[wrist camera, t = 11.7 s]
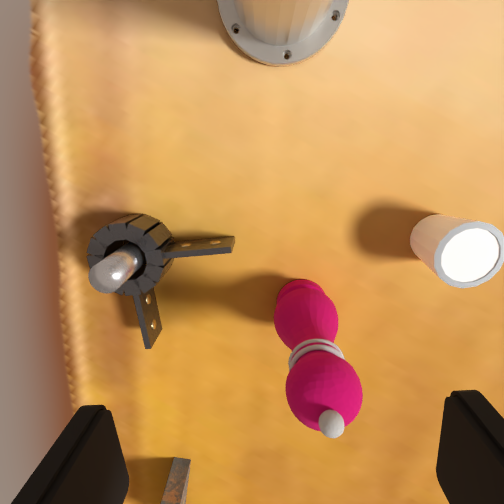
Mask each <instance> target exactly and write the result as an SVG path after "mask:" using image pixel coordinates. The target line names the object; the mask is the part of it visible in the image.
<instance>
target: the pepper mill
mask: <svg viewBox="0 0 504 504" xmlns="http://www.w3.org/2000/svg"><path fill="white" fill-rule="evenodd" d="M274 324H275V328H276V331H277V334H278V335H279V337H280V338H281V340H282V341H283V342H284V344H285V345H286V346H287V347H289V348H290V349H291V350H292V353H291V355H290V357H289V374H288V376H287V380H286V397H287V401H288V404H289V406H290V408H291V411H292V412H293V414H294V415H295V417H296V418H297V419H298V420H299V421H300V422H302V423H303V424H304V425H306V426H307V427H309V428H311V429H314V430H317V431H321V432H322V433H323V434H324V435H325V436H327V437H329V438H337V437H339V436H340V435H341V434H342V433H343V430H344V427H345V426H347V425H348V424H350V423H351V422H352V421H353V420H354V419H355V417H356V416H357V414H358V413H359V410H360V408H361V404H362V396H363V395H362V387H361V383H360V379H359V377H358V376H357V374H356V372H355V370H354V369H353V367H352V366H351V365H350V364H349V363H348V362H347V361H345V359H344V356H343V353H342V351H341V350H340V349H339V347H338V346H337V345H335V344H334V339H335V337H336V334H337V330H338V315H337V311H336V308H335V306H334V304H333V302H332V301H331V300H330V298H329V297H328V296H326V295H325V293H324V291H323V290H322V288H321V287H320V286H319V285H318V284H316V283H314V282H312V281H309V280H295V281H292V282H290V283H288V284H286V285H285V286H284V287H283V288H282V289H281V290H280V292H279V294H278V297H277V306H276V308H275V312H274Z"/></svg>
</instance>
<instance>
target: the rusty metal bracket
mask: <svg viewBox="0 0 504 504" xmlns="http://www.w3.org/2000/svg"><path fill="white" fill-rule="evenodd" d="M190 462H191V460H190V459H183V458H177V457H174V460H173V463H172V467H171V470H170V473H169V477H168V480H167V484H166V487H165V491H164V494H163V497H162V501H161V504H185V503H186V495H187V486H188V478H189V470H190Z"/></svg>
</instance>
